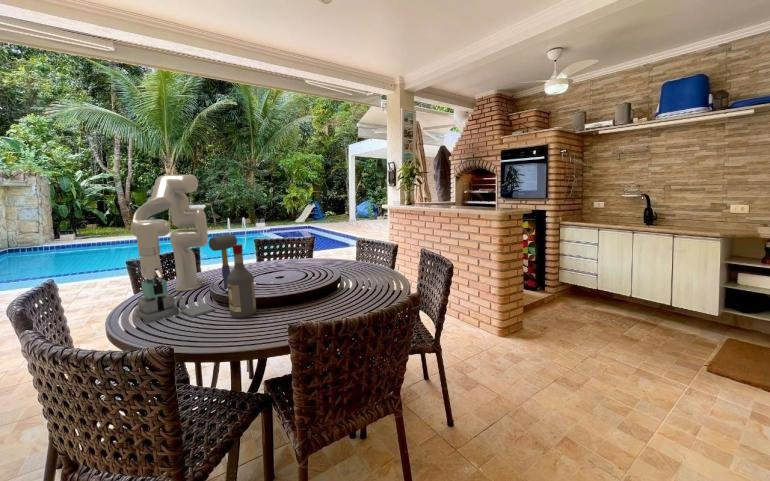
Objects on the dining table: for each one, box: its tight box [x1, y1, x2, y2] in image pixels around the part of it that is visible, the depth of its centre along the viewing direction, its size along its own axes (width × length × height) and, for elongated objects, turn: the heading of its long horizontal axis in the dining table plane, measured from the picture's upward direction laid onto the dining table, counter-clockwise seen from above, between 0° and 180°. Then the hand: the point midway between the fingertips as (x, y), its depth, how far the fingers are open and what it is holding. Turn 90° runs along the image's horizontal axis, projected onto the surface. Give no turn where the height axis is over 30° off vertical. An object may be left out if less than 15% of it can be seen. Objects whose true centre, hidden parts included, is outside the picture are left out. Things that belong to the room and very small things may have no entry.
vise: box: [135, 293, 187, 323], centre depth 153 cm, size 17×12×14 cm
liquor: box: [227, 244, 257, 319], centre depth 149 cm, size 9×9×30 cm
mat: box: [180, 303, 216, 319], centre depth 155 cm, size 10×10×1 cm
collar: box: [140, 278, 169, 299], centre depth 150 cm, size 7×7×6 cm
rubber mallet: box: [208, 233, 238, 290], centre depth 179 cm, size 12×8×30 cm, turn 156°
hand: (155, 291), depth 151 cm, fingers closed on collar, 7 cm apart
